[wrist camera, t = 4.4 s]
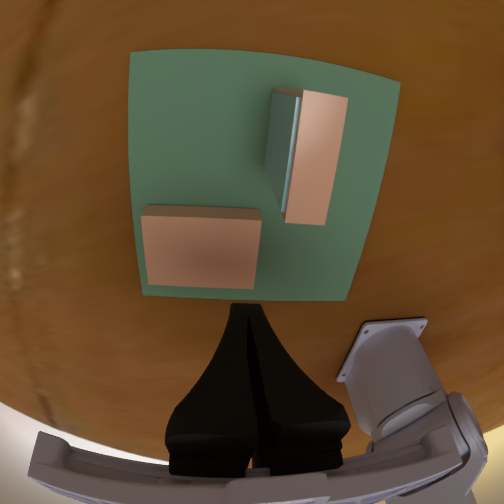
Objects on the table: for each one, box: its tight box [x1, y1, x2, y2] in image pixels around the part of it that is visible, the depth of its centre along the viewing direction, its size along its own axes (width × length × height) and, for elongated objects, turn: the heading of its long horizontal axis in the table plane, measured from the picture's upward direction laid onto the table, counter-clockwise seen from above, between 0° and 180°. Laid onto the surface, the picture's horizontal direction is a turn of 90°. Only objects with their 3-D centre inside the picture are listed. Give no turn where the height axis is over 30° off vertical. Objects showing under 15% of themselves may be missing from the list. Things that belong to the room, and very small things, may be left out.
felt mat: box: [128, 49, 401, 301], centre depth 18 cm, size 17×16×1 cm
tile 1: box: [141, 205, 262, 289], centre depth 19 cm, size 5×2×7 cm
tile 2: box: [264, 87, 348, 225], centre depth 13 cm, size 5×2×7 cm, turn 175°
